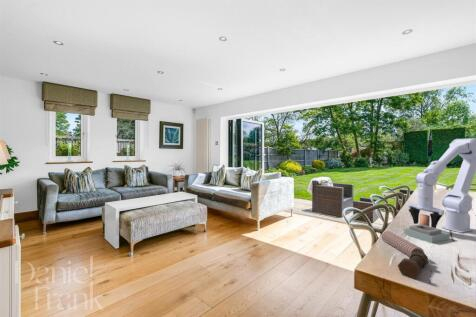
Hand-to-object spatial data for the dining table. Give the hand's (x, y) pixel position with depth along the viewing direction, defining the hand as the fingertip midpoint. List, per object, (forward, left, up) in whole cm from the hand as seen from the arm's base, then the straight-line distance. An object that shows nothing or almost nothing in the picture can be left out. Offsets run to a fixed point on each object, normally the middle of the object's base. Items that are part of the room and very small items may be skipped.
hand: (424, 225), depth 111 cm
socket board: (+9, +6, -2) cm, 11 cm away
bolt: (+43, +23, -2) cm, 49 cm away
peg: (0, 0, -2) cm, 2 cm away
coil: (+33, +11, -2) cm, 35 cm away
